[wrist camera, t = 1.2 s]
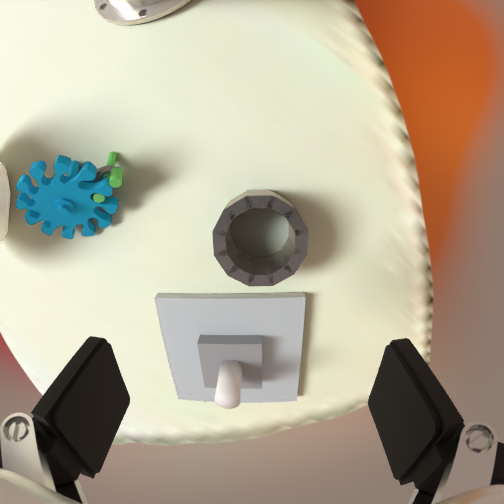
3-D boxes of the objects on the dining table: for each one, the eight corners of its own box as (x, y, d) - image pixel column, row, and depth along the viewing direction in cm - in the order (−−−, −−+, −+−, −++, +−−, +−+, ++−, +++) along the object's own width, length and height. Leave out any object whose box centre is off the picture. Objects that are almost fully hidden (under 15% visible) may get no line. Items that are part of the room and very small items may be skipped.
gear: (53, 252, 23) (-7, 195, 15) (61, 208, 26) (14, 148, 17) (145, 226, 24) (96, 144, 15) (145, 179, 27) (109, 101, 18)
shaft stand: (157, 293, 26) (130, 332, 20) (303, 292, 26) (317, 334, 19) (180, 393, 30) (167, 436, 24) (295, 395, 30) (301, 440, 23)
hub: (218, 191, 23) (210, 197, 19) (299, 189, 23) (308, 195, 19) (222, 267, 25) (216, 286, 21) (298, 266, 25) (305, 284, 21)
